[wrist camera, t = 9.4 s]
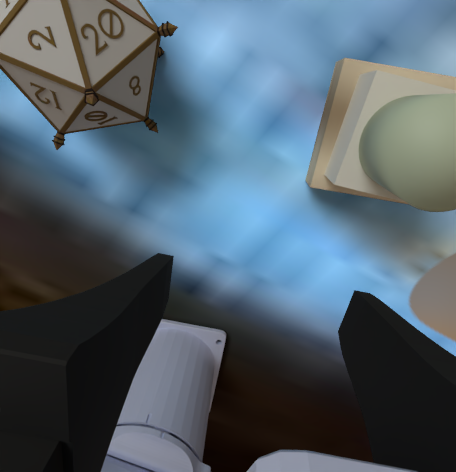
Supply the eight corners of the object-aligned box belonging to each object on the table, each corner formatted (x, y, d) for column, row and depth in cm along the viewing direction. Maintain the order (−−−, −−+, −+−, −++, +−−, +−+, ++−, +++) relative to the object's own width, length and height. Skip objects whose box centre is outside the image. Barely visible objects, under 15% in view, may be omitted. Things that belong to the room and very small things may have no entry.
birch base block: (404, 195, 22) (423, 206, 19) (303, 178, 22) (310, 187, 19) (448, 83, 19) (476, 80, 17) (333, 63, 19) (344, 57, 17)
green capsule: (434, 191, 16) (486, 217, 13) (349, 183, 17) (376, 206, 13) (466, 99, 15) (537, 98, 11) (371, 91, 15) (408, 87, 11)
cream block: (411, 196, 19) (433, 209, 17) (324, 174, 19) (334, 184, 17) (458, 100, 17) (490, 99, 15) (359, 74, 17) (377, 69, 15)
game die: (131, 34, 22) (99, -183, 12) (200, 134, 21) (224, -12, 11) (1, 87, 19) (-169, -129, 10) (73, 201, 19) (-33, 90, 9)
